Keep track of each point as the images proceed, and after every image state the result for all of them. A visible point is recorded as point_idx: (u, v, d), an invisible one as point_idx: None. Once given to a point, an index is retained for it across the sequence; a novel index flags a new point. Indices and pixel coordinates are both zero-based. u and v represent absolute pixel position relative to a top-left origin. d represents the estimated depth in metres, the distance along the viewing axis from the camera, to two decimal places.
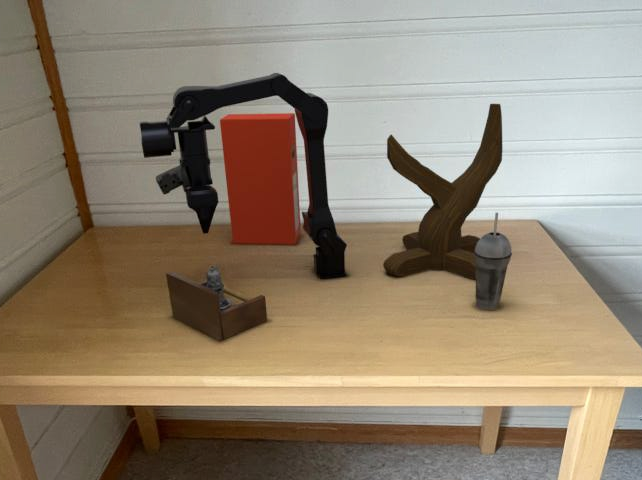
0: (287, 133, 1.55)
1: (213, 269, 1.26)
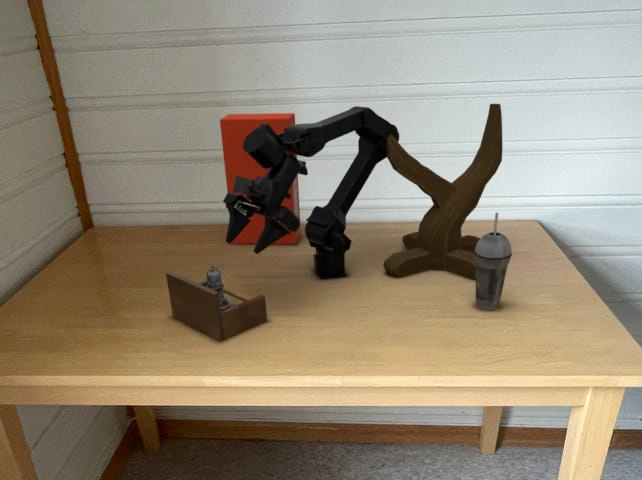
0: None
1: (213, 269, 1.26)
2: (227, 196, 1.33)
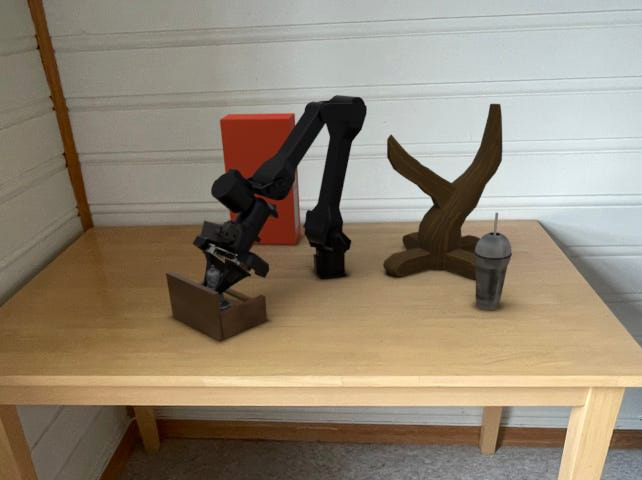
0: (287, 133, 1.55)
1: (213, 269, 1.26)
2: (197, 238, 1.32)
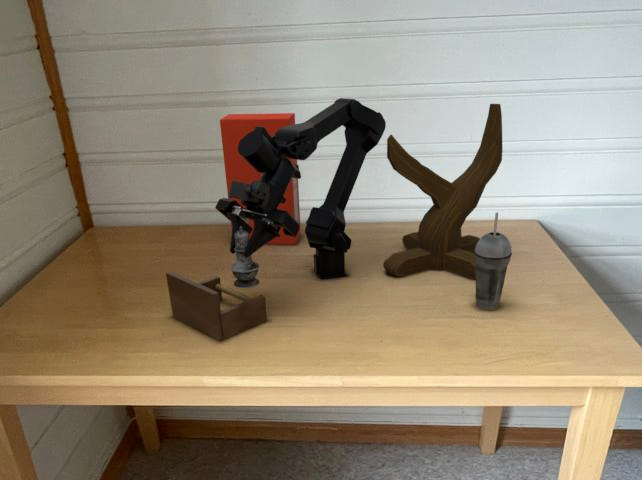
0: None
1: (242, 230, 1.24)
2: (219, 202, 1.29)
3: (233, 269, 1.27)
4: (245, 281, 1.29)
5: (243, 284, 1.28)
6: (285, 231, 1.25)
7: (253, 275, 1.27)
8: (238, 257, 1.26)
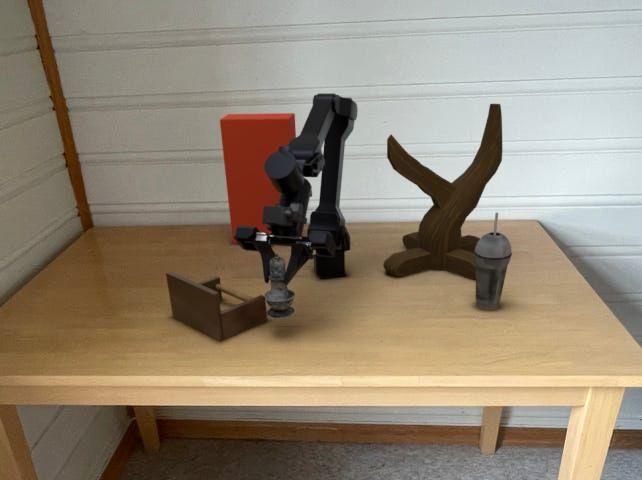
0: (287, 133, 1.55)
1: (278, 257, 1.16)
2: (239, 230, 1.19)
3: (271, 299, 1.18)
4: (282, 310, 1.21)
5: (281, 314, 1.20)
6: (319, 252, 1.20)
7: (291, 302, 1.20)
8: (275, 286, 1.18)
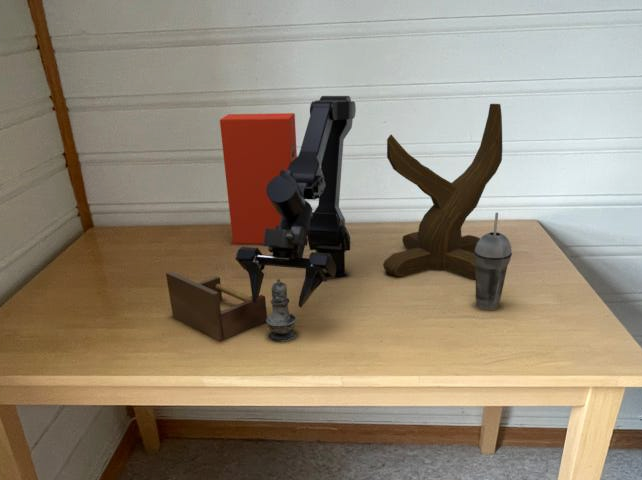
0: (287, 133, 1.55)
1: (280, 283, 1.19)
2: (241, 251, 1.21)
3: (273, 324, 1.21)
4: (283, 334, 1.23)
5: (283, 337, 1.23)
6: None
7: (293, 326, 1.22)
8: (277, 310, 1.20)
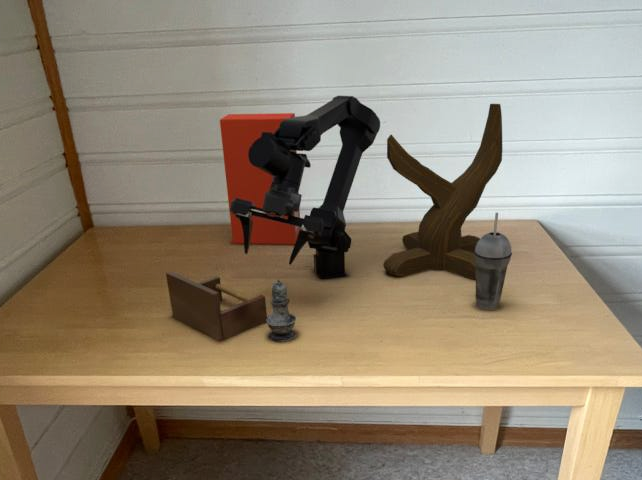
0: None
1: (280, 283, 1.19)
2: (236, 205, 1.26)
3: (273, 324, 1.21)
4: (283, 334, 1.23)
5: (283, 337, 1.23)
6: None
7: (293, 326, 1.22)
8: (277, 310, 1.20)
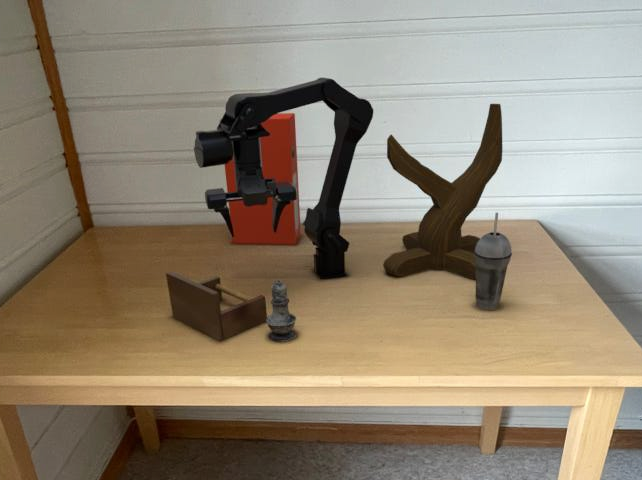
0: (287, 133, 1.55)
1: (280, 283, 1.19)
2: (213, 202, 1.30)
3: (273, 324, 1.21)
4: (283, 334, 1.23)
5: (283, 337, 1.23)
6: None
7: (293, 326, 1.22)
8: (277, 310, 1.20)
